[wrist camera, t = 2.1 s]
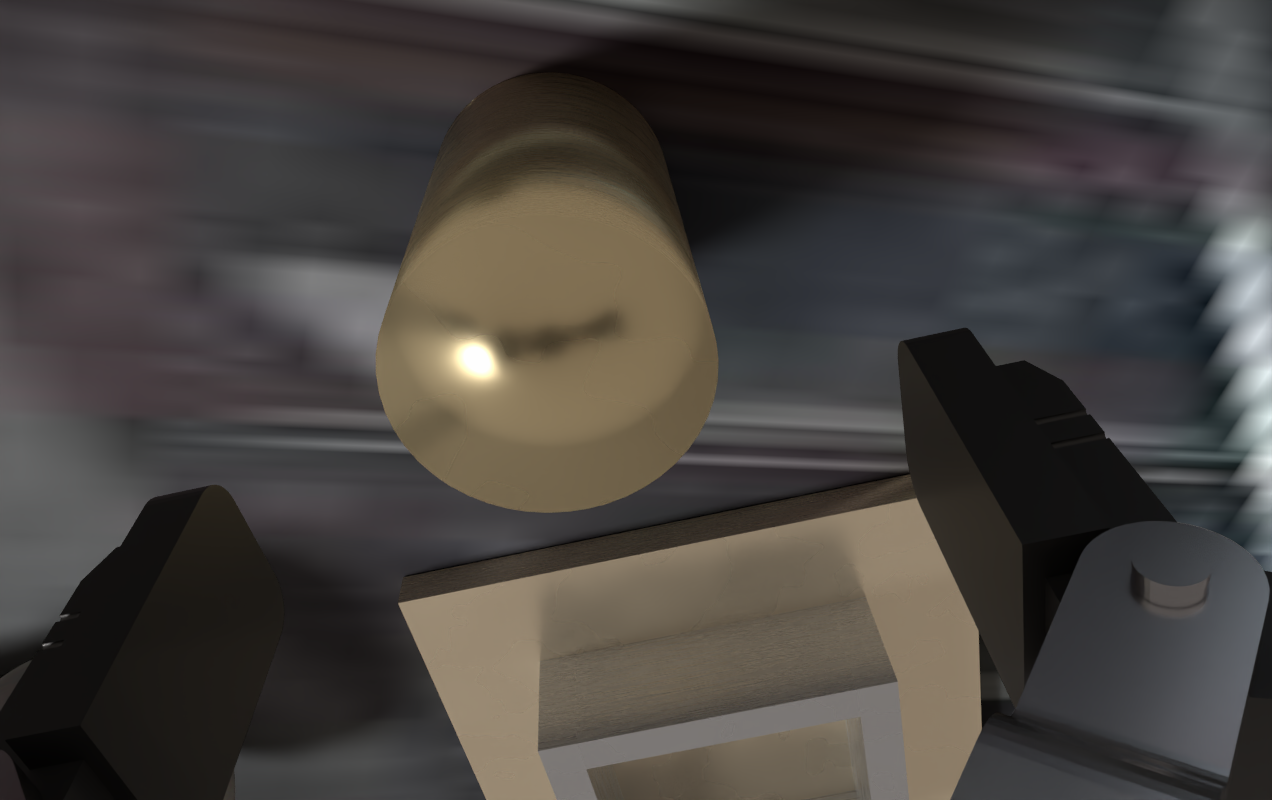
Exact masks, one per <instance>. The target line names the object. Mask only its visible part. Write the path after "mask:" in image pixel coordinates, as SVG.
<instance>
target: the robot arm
mask: <svg viewBox="0 0 1272 800" xmlns="http://www.w3.org/2000/svg"><path fill="white" fill-rule="evenodd" d="M898 366H899V377H900V389H901V400H902V411H903V422H904V433H905V444H906V454H907V461H908V467H909V472H910V476H911V480H912V484H913V487H914V491H915V494H916V497H917V500H918V502H919V505H920V507H921V509H922V511H923V513H924V516H925V518H926V520H927V522H928V524H929V526H930V528H931V531H932V533H933V535H934V537H935V539H936V541H937V543H938V545H939V548H940V550H941V552H942V554H943V556H944V558H945V560H946V562H947V565H948V567H949V569H950V571H951V573H952V575H953V577H954V579H955V582H956V584H957V586H958V588H959V590H960V592H961V594H962V597H963V599H964V601H965V603H966V605H967V607H968V609H969V611H970V614H971V616H972V618H973V620H974V622H975V624H976V626H977V628H978V631H979V633H980V635H981V637H982V639H983V641H984V643H985V645H986V648H987V650H988V652H989V654H990V656H991V658H992V660H993V662H994V665H995V667H996V669H997V671H998V673H999V675H1000V677H1001V680H1002V682H1003V684H1004V686H1005V688H1006V690H1007V692H1008V694H1009V697H1010V699H1011V701H1012V703H1013V705H1014V707H1015V710H1014V712H1013V714H1012V715H1011V716H1007V715H1004V714H1001V713H998V712H997V713H995V714H993V715H992V716H991V717H990V718H989V719H988V721H987V722H986V724H985V725H984V727H983V729H982V730H981V732H980V734H979V736H978V738H977V741H976V743H975V745H974V747H973V750H972V752H971V754H970V756H969V759H968V761H967V763H966V765H965V768H964V770H963V772H962V774H961V777H960V779H959V781H958V783H957V786H956V788H955V790H954V792H953V795H952V797H951V799H950V800H1272V572H1268V571H1263V569H1262V567H1261V566H1260V564H1259V563H1258V562H1257V561H1256V559H1255V558H1254V557H1253V556H1252V555H1251V554H1249V553H1248V552H1247V551H1246V550H1245V549H1244V548H1242V547H1241V546H1239V545H1238V544H1236V543H1235V542H1233V541H1232V540H1230V539H1228V538H1226V537H1224V536H1222V535H1220V534H1218V533H1215V532H1212V531H1210V530H1207V529H1204V528H1201V527H1197V526H1193V525H1189V524H1183V523H1177V521H1176V520H1175V519H1174V518H1173V516H1172V515H1171V514H1170V513H1169V511H1168V510H1167V509H1166V508H1165V507H1164V505H1163V504H1162V503H1161V502H1160V500H1159V499H1158V498H1157V497H1156V495H1155V494H1154V493H1153V492H1152V490H1151V489H1150V488H1149V487H1148V485H1147V484H1146V483H1145V482H1144V480H1143V479H1142V478H1141V477H1140V476H1139V474H1138V473H1137V472H1136V471H1135V469H1134V468H1133V467H1132V466H1131V464H1130V463H1129V462H1128V461H1127V459H1126V458H1125V457H1124V456H1123V454H1122V453H1121V452H1120V451H1119V449H1118V448H1117V447H1116V446H1115V445H1114V443H1113V442H1112V441H1111V440H1110V438H1107V439H1106V437H1105V433H1104V431H1103V430H1102V428H1101V427H1100V426H1099V425H1098V423H1097V422H1096V421H1095V420H1094V418H1093V417H1092V416H1091V415H1090V414H1089V415H1087V413H1086V409H1085V407H1084V406H1083V405H1082V404H1081V402H1080V401H1079V400H1078V399H1077V397H1076V396H1075V395H1074V394H1073V392H1072V391H1071V390H1070V389H1069V387H1068V386H1067V385H1066V384H1065V382H1064V381H1063V380H1061V379H1059V378H1057V377H1055V376H1053V375H1051V374H1049V373H1047V372H1046V371H1044V370H1042V369H1040V368H1038V367H1036V366H1034V365H1032V364H1030V363H1028V362H1027V361H1025V360H1024V361H1019V362H1014V363H1009V364H1005V365H1000V366H995V364H994V363H993V362H992V360H991V359H990V357H989V356H988V355H987V353H986V352H985V350H984V349H983V348H982V346H981V345H980V343H979V342H978V341H977V339H976V338H975V336H974V335H973V334H972V332H971V331H970V330H969V329H968V328H961V329H956V330H952V331H947V332H942V333H937V334H933V335H928V336H923V337H918V338H914V339H909V340H904V341H901V342H900V343H899V346H898ZM60 618H61V621H60V622H55V624H54V625H53V627H52V629H51V630H50V632H49V634H48V635H47V637H46V638H45V640H44V642H43V643H42V645H43V650H42V651H37V653H36V654H35V656H34V658H33V659H32V661H31V662H30V664H29V666H28V667H27V669H26V670H25V672H24V674H23V675H22V677H21V679H20V680H19V682H18V683H17V685H16V687H15V688H14V690H13V691H12V693H11V695H10V696H9V698H8V699H7V701H6V703H5V704H4V706H3V707H2V709H1V711H0V800H223V799H224V796H225V793H226V790H227V787H228V785H229V782H230V779H231V776H232V773H233V770H234V767H235V765H236V762H237V759H238V756H239V753H240V750H241V747H242V745H243V742H244V739H245V736H246V733H247V730H248V727H249V724H250V722H251V719H252V716H253V713H254V710H255V707H256V704H257V702H258V699H259V696H260V693H261V690H262V687H263V684H264V682H265V679H266V676H267V673H268V670H269V667H270V664H271V662H272V659H273V656H274V653H275V650H276V647H277V644H278V641H279V639H280V636H281V633H282V629H283V624H284V602H283V596H282V592H281V588H280V585H279V582H278V580H277V578H276V576H275V574H274V572H273V570H272V569H271V567H270V565H269V563H268V561H267V559H266V558H265V556H264V554H263V552H262V550H261V548H260V547H259V545H258V543H257V541H256V539H255V538H254V536H253V534H252V532H251V530H250V528H249V527H248V525H247V523H246V521H245V519H244V517H243V516H242V514H241V512H240V510H239V508H238V506H237V505H236V503H235V501H234V499H233V498H232V496H231V495H230V494H229V492H228V491H227V490H225V489H224V488H223V487H221V486H219V485H210V486H206V487H201V488H196V489H191V490H187V491H182V492H177V493H172V494H168V495H163V496H158V497H155V498H152V499H151V500H149V501H148V502H147V504H146V505H145V506H144V508H143V510H142V511H141V513H140V515H139V516H138V518H137V520H136V521H135V523H134V525H133V526H132V528H131V530H130V531H129V533H128V535H127V536H126V538H125V540H124V541H123V543H122V545H121V546H120V547H117V548H115V549H114V550H113V551H112V552H111V553H110V554H109V555H108V556H107V557H106V558H105V559H104V560H103V561H102V562H101V563H100V564H99V565H98V566H96V567H95V568H94V569H93V570H92V571H91V572H90V573H89V574H88V575H87V576H86V577H85V578H84V579H83V580H82V581H81V582H80V584H79V585H78V587H77V589H76V590H75V592H74V593H73V595H72V597H71V598H70V600H69V601H68V603H67V605H66V606H65V608H64V609H63V611H62V613H61V614H60Z"/></svg>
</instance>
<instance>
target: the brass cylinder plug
mask: <svg viewBox="0 0 1272 800" xmlns="http://www.w3.org/2000/svg"><path fill="white" fill-rule="evenodd" d="M376 377H377V383H378V389H379V394H380V397H381V401H382V404H383V407H384V410H385V413H386V415H387V417H388V419H389V421H390V423H391V425H392V427H393V429H394V431H395V432H396V434H397V435H398V437H399V438H400V440H401V441H402V443H403V444H404V446H405V447H406V448H407V449H408V450H409V451H410V453H411V454H412V455H413V456H414V457H415V458H416V459H417V460H418V461H419V462H420V463H421V464H422V465H423V466H424V467H425V468H426V469H428V470H429V471H430V472H431V473H432V474H433V475H435V476H436V477H438V478H439V479H441V480H442V481H444V482H445V483H446V484H448V485H449V486H451V487H453V488H455V489H457V490H459V491H461V492H462V493H464V494H466V495H468V496H471V497H473V498H476V499H478V500H481V501H484V502H486V503H489V504H493V505H497V506H500V507H504V508H509V509H515V510H521V511H527V512H544V513H551V512H569V511H576V510H583V509H589V508H592V507H596V506H600V505H604V504H608V503H610V502H613V501H616V500H618V499H621V498H623V497H626V496H628V495H630V494H632V493H634V492H636V491H638V490H640V489H642V488H644V487H645V486H647V485H648V484H650V483H651V482H653V481H654V480H656V479H657V478H659V477H660V476H661V475H663V474H664V473H665V472H666V471H667V470H668V469H670V468H671V467H672V466H673V465H674V464H675V463H676V462H677V461H678V460H679V459H680V458H681V457H682V456H683V455H684V453H685V452H686V451H687V450H688V449H689V448H690V446H691V445H692V443H693V442H694V440H695V439H696V438H697V436H698V435H699V433H700V431H701V429H702V427H703V425H704V423H705V421H706V419H707V417H708V415H709V412H710V409H711V406H712V403H713V400H714V396H715V391H716V386H717V381H718V353H717V344H716V339H715V335H714V331H713V327H712V324H711V320H710V317H709V313H708V310H707V306H706V303H705V299H704V296H703V292H702V289H701V285H700V282H699V278H698V275H697V271H696V267H695V264H694V260H693V257H692V253H691V250H690V246H689V243H688V239H687V236H686V232H685V229H684V225H683V222H682V218H681V215H680V211H679V208H678V204H677V201H676V197H675V194H674V190H673V187H672V183H671V180H670V176H669V173H668V169H667V166H666V162H665V159H664V155H663V152H662V149H661V147H660V145H659V142H658V140H657V137H656V136H655V134H654V132H653V131H652V129H651V127H650V126H649V124H648V123H647V121H646V120H645V119H644V118H643V116H642V115H641V114H640V113H639V111H637V110H636V109H635V108H634V107H633V106H632V105H631V104H630V103H629V102H628V101H627V100H626V99H624V98H623V97H622V96H620V95H619V94H618V93H616V92H615V91H613V90H611V89H609V88H608V87H606V86H604V85H602V84H600V83H597V82H595V81H592V80H590V79H587V78H584V77H580V76H576V75H572V74H564V73H555V72H550V73H534V74H527V75H522V76H518V77H515V78H512V79H508V80H506V81H503V82H501V83H499V84H497V85H495V86H493V87H491V88H489V89H488V90H486V91H485V92H483V93H482V94H480V95H479V96H477V97H476V98H475V99H474V100H473V101H472V102H470V103H469V104H468V105H467V106H466V107H465V108H464V109H463V110H462V112H461V113H460V114H459V115H458V116H457V117H456V119H455V120H454V122H453V123H452V125H451V127H450V128H449V130H448V132H447V134H446V136H445V138H444V140H443V142H442V145H441V148H440V151H439V154H438V157H437V160H436V163H435V166H434V169H433V172H432V175H431V178H430V181H429V184H428V187H427V190H426V193H425V196H424V199H423V202H422V205H421V208H420V211H419V214H418V217H417V220H416V223H415V226H414V229H413V232H412V235H411V238H410V241H409V244H408V247H407V250H406V253H405V256H404V259H403V262H402V265H401V268H400V271H399V274H398V277H397V280H396V283H395V286H394V289H393V292H392V295H391V298H390V301H389V304H388V307H387V310H386V313H385V316H384V319H383V322H382V325H381V329H380V332H379V336H378V343H377V350H376Z"/></svg>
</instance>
